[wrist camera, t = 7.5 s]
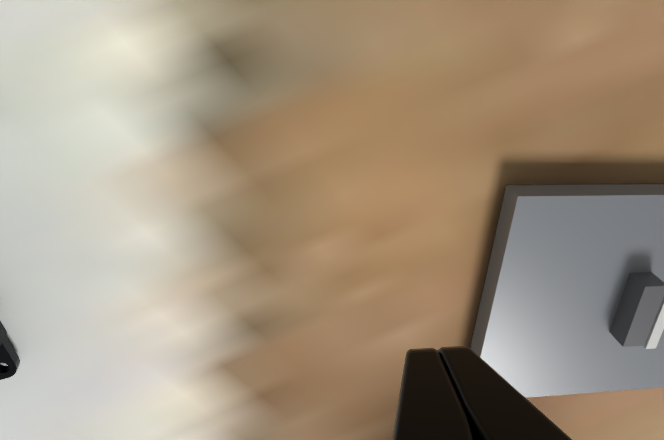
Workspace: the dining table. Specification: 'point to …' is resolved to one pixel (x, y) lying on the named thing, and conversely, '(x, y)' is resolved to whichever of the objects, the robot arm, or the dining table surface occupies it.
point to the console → (576, 289)
